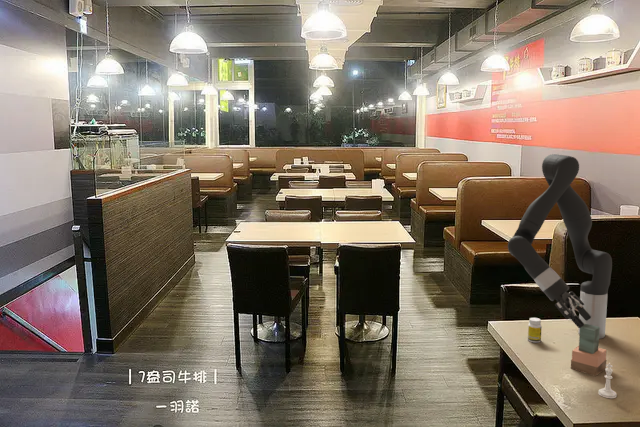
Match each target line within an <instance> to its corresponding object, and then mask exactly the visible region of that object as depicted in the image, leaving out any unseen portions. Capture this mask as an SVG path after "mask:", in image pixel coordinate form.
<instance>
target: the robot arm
mask: <svg viewBox="0 0 640 427" xmlns="http://www.w3.org/2000/svg"><path fill="white" fill-rule="evenodd" d="M579 170H580V163H579V161H578V159H577V158H576V157H574V156H570V155H564V154H558V153H557V154H553V153H552V154H548V155H547V156H545V158H543V160H542V163H541V171H542V174H543V177H544V179H545V181H546V183H547V185H548V188H546V190H545V191H544V192H543V193H541V194H540V195H539V196H538V197H537V198H535V200H533V201H532V202H531V203H530V204H529V205H528V207H527V208H526V210H525V212H524V214H523V216H522V218H521V220H520V221H519V224H518V227H517V229H516V230H515V232H514V234H513V235H512V237H511V238H510V239H509V241H508V242H507V251H508V252H509V254H510V255H511V256H513V257H514V258H515V259H516V260H517V261H518V262H519V263H520V264H521V265H522V267H523V268H524V270H525V271H526V273H527V274H528V275H529V277H531V278H532V280H534V282H535V283H536V285H537V287H539V289H540V290H541V291H542V292H543V294H545V295H546V297H547V298H548V299H549V300H550V301H551V302H554V301H556V303H555V304H554V307H556V308H557V310H558V311H559V312H560V314H562V316H563V317H564V319H565V320H571V321H572V322H573V323H574V324H575V326H576V327H577V329H578V331H577V332H578V335H580V328H581V327H582V326H584V324H589V325H593V326H597V327H600V330H599V340H600V339H604V338H605V337H606V325H607V311H608V309H607V307H608V293H609V292H608V291H609V287H610V285H611V279H612V278H611V277H612V270H613V258H612V256H611V255H610V253H608V252H607V251H606V252H605V251H601V250H596V249H593V248H592V247H591V245H590V242H589V239H588V236H589V233H590V231H591V230H592V227H593V226H592V225H593V218H592V216H591V213H590V210H589V207H588V205H587V204H586V202H585V200H584V199H583V198H582V197H581V196H580V195H579V194H578V193H577V192H576V190H574V188H573V187H572V183H573V182H574V180H575V179H576V177H577V176H578V175H579V174H578V173H579ZM556 204H557V206H558V209H559V212H560V215H561V217H562V220H563V224H564V225H565V228H566V230H567V233H568V234H567V235H568V237H569V239H570V242H571V246H572V248H573V253H574V258H575V262H576V264H577V267H578V269H579V270H580V271H582V272H583V273H586V274H589V275H592V278H591V280H587V281H584V282H582V283H581V284H580V293H579V294H580V296H577V295H576V293H575V292H574V291H572V290H571V291H570V286H569V285H568V284H567V283H566V282H565V281H564V280H563V278H562V277H561V276H560V275H559V274H558V273H557V272H556V271H555V270H554V269H553V268H552V267H551V266H550V265H549V264H548V263H547V262H546V261H545V259H544V258H542V256H541V255H539V254H538V252H537V251H536V249H535V247H533V245H532V244H533V242H534V240H535V238H536V236H537V234H538V233H539V231H540V230H541V228H542V227H543V224H544V223H545V221H546V219H547V217H548V216H549V214H550V212H551V211H552V209H553V208H554V206H555V205H556ZM568 291H569V292H568ZM576 312H578V314H579V315H577V314H576Z"/></svg>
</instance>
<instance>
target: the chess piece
mask: <svg viewBox="0 0 640 427" xmlns="http://www.w3.org/2000/svg"><path fill="white" fill-rule="evenodd" d="M604 371H605V373H606V374H604V378H605V386H604V387H602V388H600V389H598V391H597V393H598V395H599V396H600V397H603V398H607V399H615V398H617V392H616V391H614V390H613V389H612V387H611V379H613V376H612V373H613V371H614V370H613V365H612V364H611V362H608V364H607V363H606V368H605V370H604Z"/></svg>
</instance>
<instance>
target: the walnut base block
mask: <svg viewBox="0 0 640 427" xmlns="http://www.w3.org/2000/svg"><path fill="white" fill-rule="evenodd" d="M606 364H607V360H605V361H604V362H603V363H602V364H601V365H600V366H599V367H594V366H590V365H586V364H583V363H579V362H575V361H572V358H571V360H570V369H572V370H575V371H578V372H581V373H583V374H588V375H590V376H593V377H596V376H598V375H599V374H600V373H602V372H604V371H605V368H607V366H606Z"/></svg>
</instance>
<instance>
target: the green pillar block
mask: <svg viewBox="0 0 640 427" xmlns="http://www.w3.org/2000/svg"><path fill="white" fill-rule="evenodd" d="M599 330H600V327H597V326H593V325H589V324H584V326H582V327H581V328H580V334H579V338H578V339H579V340H578V346H579V350H580V351H583V352H587V353H590V354H594V353H595V352H596V351H598V348H599V343H600V339H599Z"/></svg>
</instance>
